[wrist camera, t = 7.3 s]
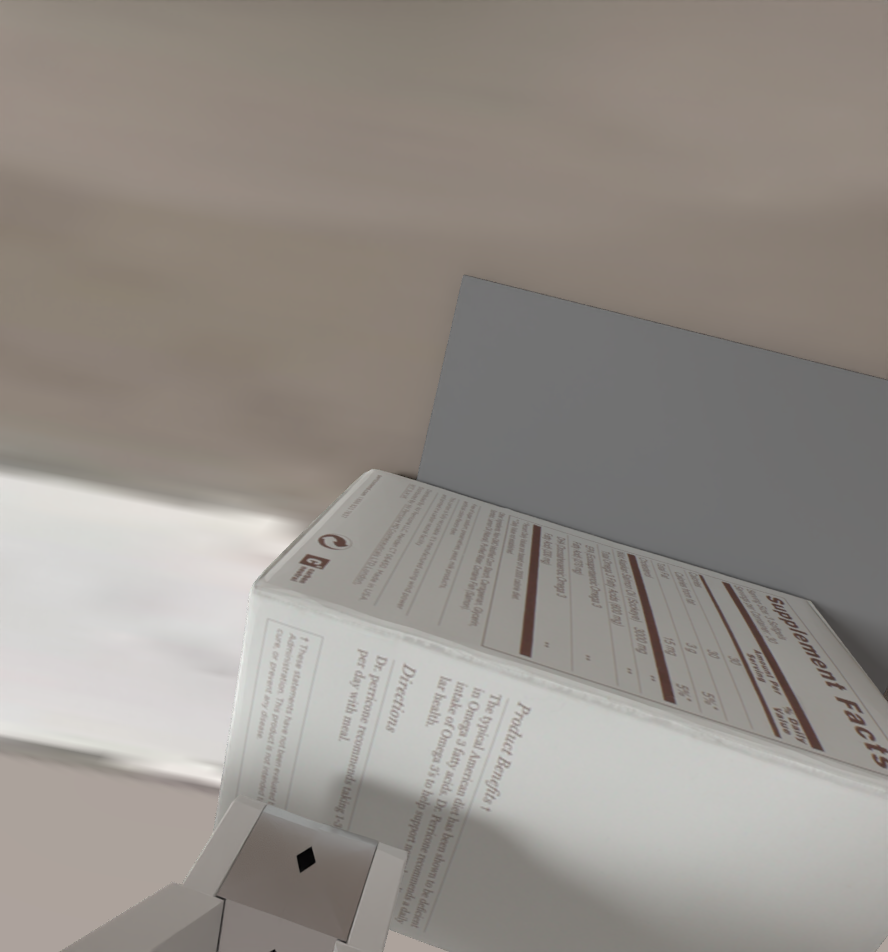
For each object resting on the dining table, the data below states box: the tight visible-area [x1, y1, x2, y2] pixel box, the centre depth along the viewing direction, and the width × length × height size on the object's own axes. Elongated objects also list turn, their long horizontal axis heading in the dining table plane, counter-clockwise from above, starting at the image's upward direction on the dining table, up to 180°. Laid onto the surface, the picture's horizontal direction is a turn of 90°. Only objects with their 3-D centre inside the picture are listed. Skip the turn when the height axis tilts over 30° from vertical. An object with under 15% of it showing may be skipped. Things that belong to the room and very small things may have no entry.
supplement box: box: [213, 469, 888, 952], centre depth 15 cm, size 7×7×13 cm
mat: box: [416, 275, 888, 695], centre depth 17 cm, size 13×14×1 cm
